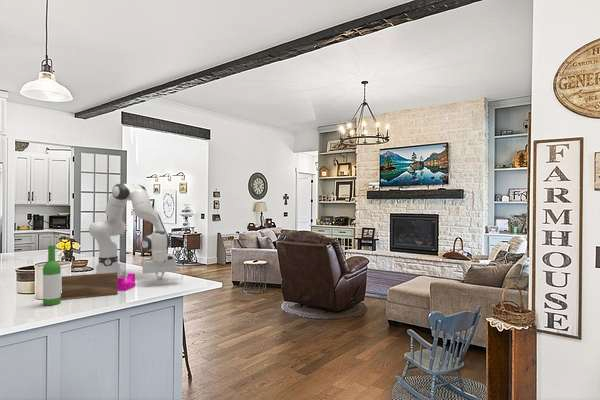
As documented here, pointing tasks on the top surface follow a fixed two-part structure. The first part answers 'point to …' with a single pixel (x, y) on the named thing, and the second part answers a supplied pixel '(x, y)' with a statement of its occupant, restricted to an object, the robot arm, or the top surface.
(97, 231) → the robot arm
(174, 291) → the top surface
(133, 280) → the toy block
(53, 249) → the wine bottle
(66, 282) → the brown block
